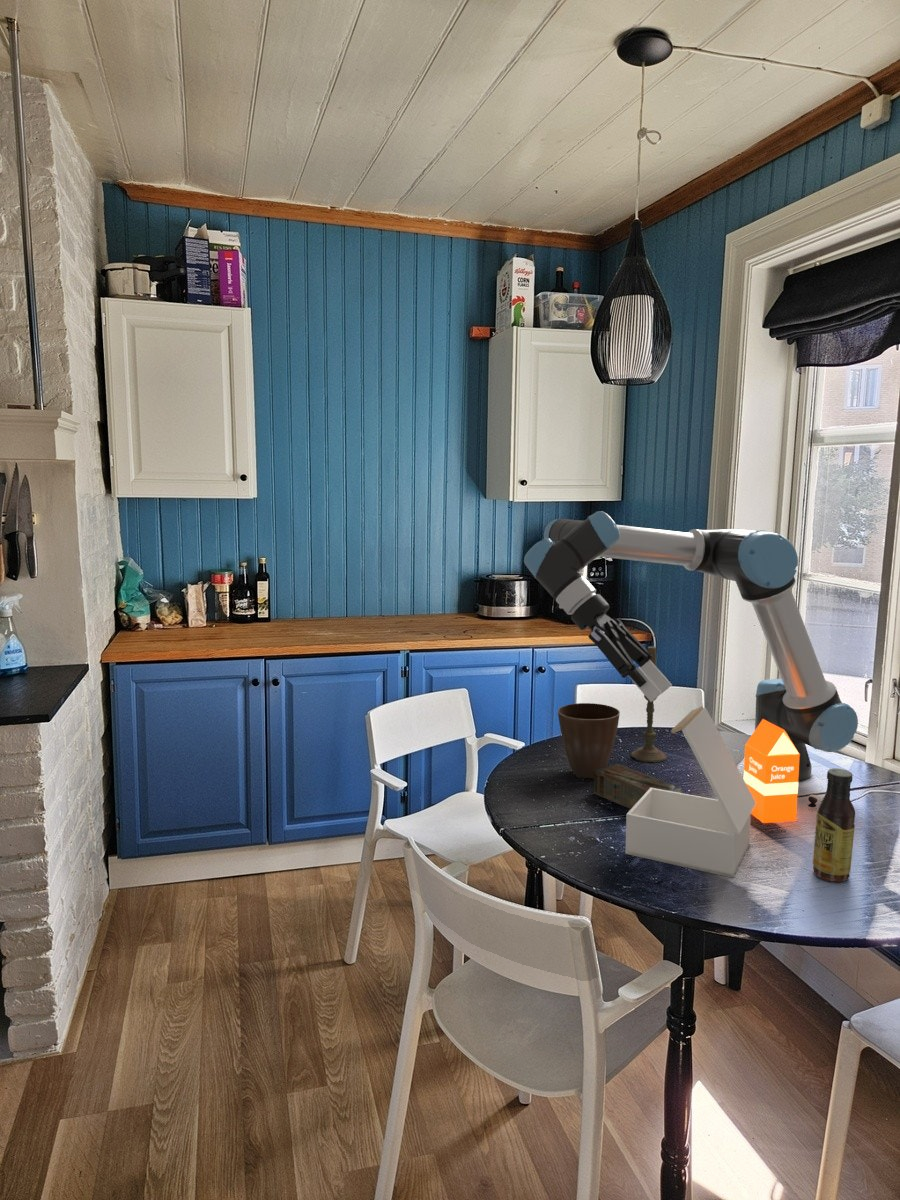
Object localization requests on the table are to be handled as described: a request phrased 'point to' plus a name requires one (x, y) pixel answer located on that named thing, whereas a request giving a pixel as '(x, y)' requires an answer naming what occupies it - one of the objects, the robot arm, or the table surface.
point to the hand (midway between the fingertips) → (661, 693)
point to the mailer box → (685, 832)
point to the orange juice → (772, 773)
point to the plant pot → (588, 735)
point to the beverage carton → (626, 784)
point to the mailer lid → (718, 766)
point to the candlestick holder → (649, 731)
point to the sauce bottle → (835, 829)
